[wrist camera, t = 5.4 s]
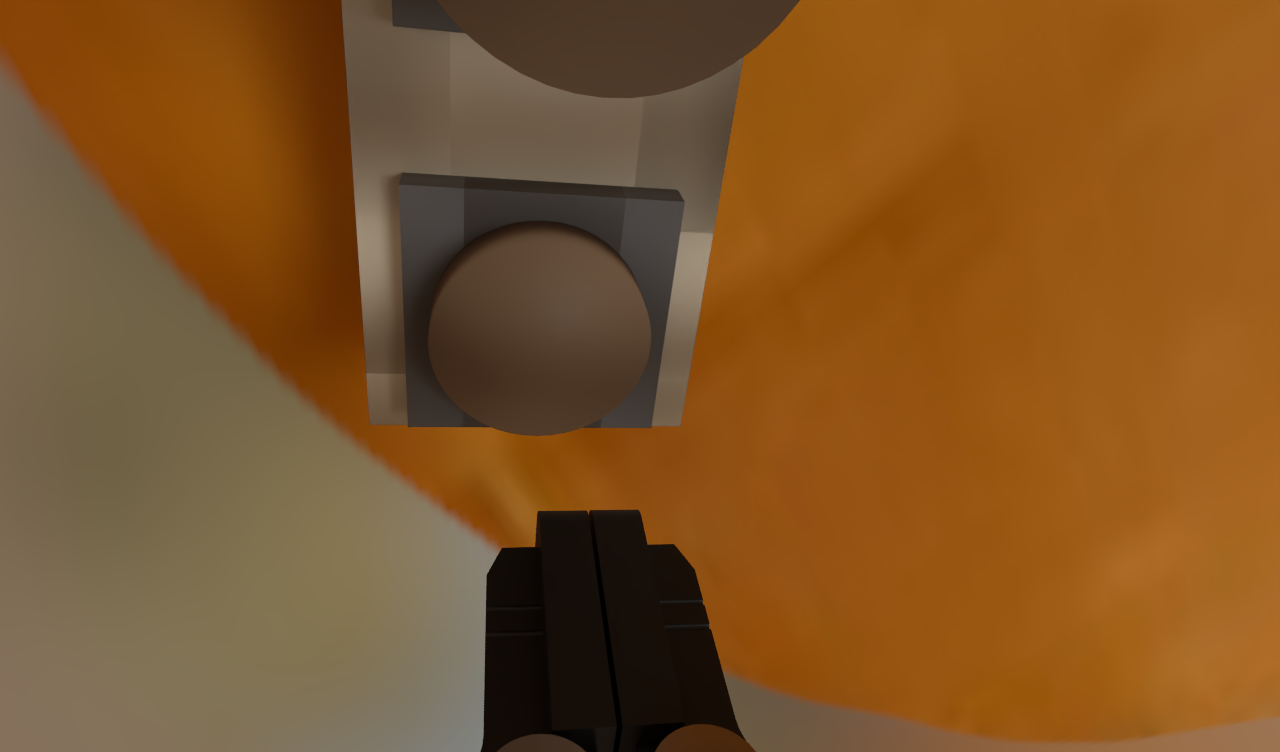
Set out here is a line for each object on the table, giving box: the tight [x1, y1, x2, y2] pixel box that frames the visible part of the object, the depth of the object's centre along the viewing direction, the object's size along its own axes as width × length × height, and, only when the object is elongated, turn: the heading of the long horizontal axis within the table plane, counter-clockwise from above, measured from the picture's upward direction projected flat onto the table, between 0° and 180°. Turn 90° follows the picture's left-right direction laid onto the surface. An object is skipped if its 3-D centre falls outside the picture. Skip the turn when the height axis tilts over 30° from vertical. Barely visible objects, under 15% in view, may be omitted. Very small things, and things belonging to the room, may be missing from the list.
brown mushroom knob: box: [428, 221, 651, 436], centre depth 20 cm, size 5×5×6 cm
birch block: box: [341, 0, 743, 428], centre depth 19 cm, size 16×8×6 cm, turn 173°
